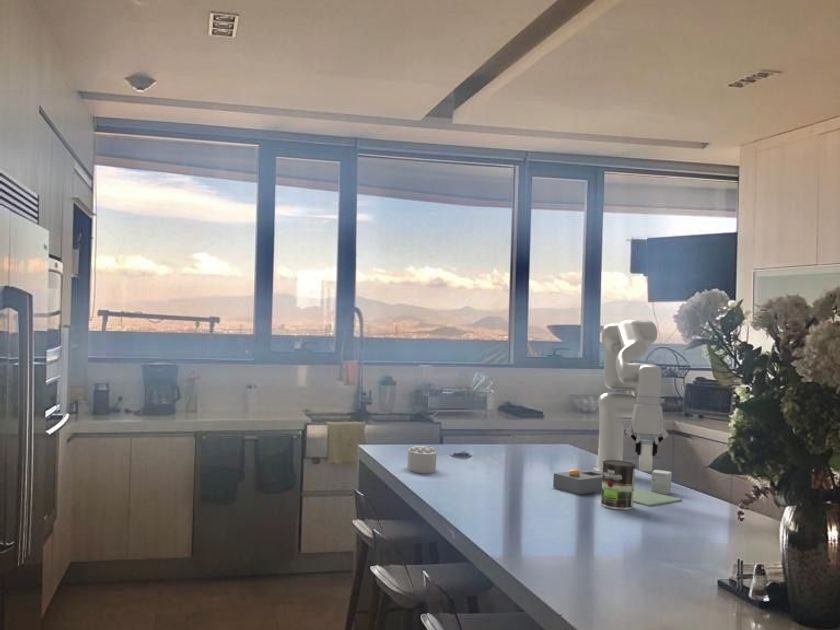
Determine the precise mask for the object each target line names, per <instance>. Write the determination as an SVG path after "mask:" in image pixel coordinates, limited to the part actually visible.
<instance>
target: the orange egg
mask: <svg viewBox="0 0 840 630" xmlns="http://www.w3.org/2000/svg"><path fill="white" fill-rule="evenodd" d="M580 471H581V470H580V469H575V468H571V469H569V470H568V472H569V474H570V475H571V476H573V477H577V476H578V475H580Z"/></svg>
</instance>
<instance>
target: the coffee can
mask: <svg viewBox="0 0 840 630" xmlns="http://www.w3.org/2000/svg"><path fill="white" fill-rule="evenodd" d="M626 461H627V460H626ZM626 461H625V460H623V461H619V460H605V461H603V477H602V491H601V496H600V506H601V507H604V508H606V509H611V510H620V511H629V509H630V510H632V509H634V507H633V505H634V502H633V493H634V489H635V474H636V472H635V471H636V464H635V463H634V462H631V461H630V462H629V461H628V462H626Z"/></svg>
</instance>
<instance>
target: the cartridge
mask: <svg viewBox="0 0 840 630" xmlns="http://www.w3.org/2000/svg"><path fill="white" fill-rule="evenodd" d="M653 442H654V440H649V439H640V444H641V447H640V455H638V456H639V457H638V471H641V472H642V471H643V472H653V461H654V460H653V457H654V456H653Z"/></svg>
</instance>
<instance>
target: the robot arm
mask: <svg viewBox="0 0 840 630" xmlns="http://www.w3.org/2000/svg"><path fill="white" fill-rule="evenodd" d="M657 338H658V328H657V326H656V324H655V323H654V322H653V321H651V320H641V319H640V320H639V319H625V320H622V321H621V322H620V323H619V322H618V323H608V324H605V325H604V326H603V327H602V330H601V341H602V346H603V350H604V366H603V367H604V368H603V384H604V387H606V388H608V389H610V390H611V389H612V390H621V391H622V390H623V391H630V392H629V393H628V392H611V391H610V392H604V393H602V394H600V395H599V397H598V400H597V401H598V402H597V403H598V404H597V405H598V414H599V415H598V417H599V425H598V426H599V430H598V448H597V449H598V450H597V453H598V454H597V466H593V470H592V471H596V472H600V473H603V461H605V460H619V461H624V460H623V454H624V436H625V435H624V426H623V424H622V423H621V421H620V420H619V418H632V419H631V424H630V426H629V427H627V429H626V430H625V434H626V435H628V436H629V437H630V438H631V439H632V440H633V441H634V442H635V449H634V450H635V453H636V454H637V456H639V455H640V447H641V444H640V440H641V437H642V435H644V436H652V438H653V457H656V454H658V445H659V444H660V443H661V442H662V441H663V440H665V439H667V437H669V432H668V431H667V430H666V429H665V427H664V414H663V407H662V406H661V404H664V403H665V398H662V397H661V392H662V391H661V388H662V369H661V367H660V366H658V365H656V364H653V363H643V362H642V363H640V362H638V363H637V362H633V361H637V360H638V359H642V357H644V356H645V354H646V353H647V351H648V345H652V344H654V343H655V342H656V340H657ZM632 432H633V433H632ZM634 434H636V435H634ZM626 462H629V461H628V460H626Z"/></svg>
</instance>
